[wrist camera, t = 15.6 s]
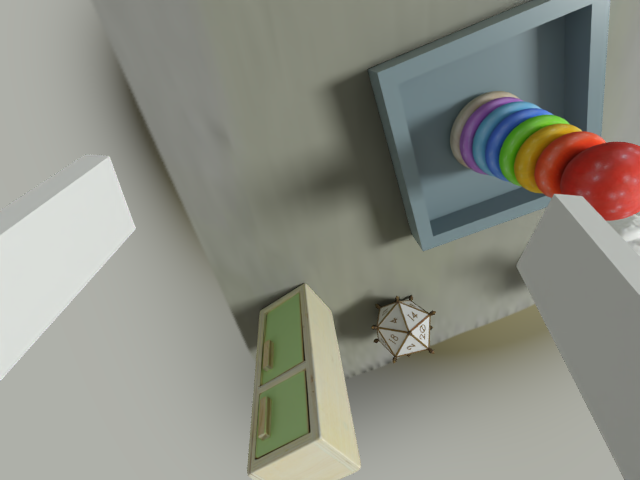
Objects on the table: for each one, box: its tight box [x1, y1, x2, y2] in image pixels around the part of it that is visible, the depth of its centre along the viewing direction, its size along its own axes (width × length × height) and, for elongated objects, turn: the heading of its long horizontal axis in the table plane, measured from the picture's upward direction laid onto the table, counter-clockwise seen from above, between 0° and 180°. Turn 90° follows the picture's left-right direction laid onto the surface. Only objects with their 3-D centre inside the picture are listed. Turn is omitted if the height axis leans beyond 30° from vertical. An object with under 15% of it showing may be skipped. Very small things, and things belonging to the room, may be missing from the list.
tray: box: [367, 0, 610, 251], centre depth 36 cm, size 20×20×4 cm
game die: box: [371, 295, 436, 363], centre depth 46 cm, size 9×8×10 cm
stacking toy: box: [450, 91, 640, 221], centre depth 29 cm, size 8×8×19 cm
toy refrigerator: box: [247, 283, 361, 480], centre depth 39 cm, size 8×7×21 cm
